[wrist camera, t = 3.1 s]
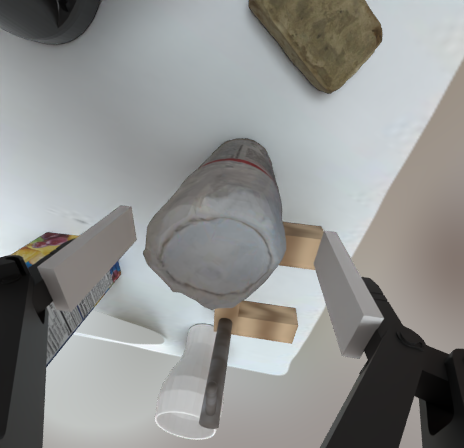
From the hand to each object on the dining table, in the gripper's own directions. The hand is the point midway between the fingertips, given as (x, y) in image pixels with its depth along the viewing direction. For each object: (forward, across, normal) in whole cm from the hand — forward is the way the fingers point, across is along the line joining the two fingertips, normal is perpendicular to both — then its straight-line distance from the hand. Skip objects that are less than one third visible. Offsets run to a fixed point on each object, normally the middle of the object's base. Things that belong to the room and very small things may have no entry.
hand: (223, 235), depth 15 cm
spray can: (+16, 0, 0) cm, 16 cm away
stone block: (+16, +5, +15) cm, 22 cm away
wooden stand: (+16, +5, -18) cm, 24 cm away
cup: (+16, -4, -36) cm, 39 cm away
